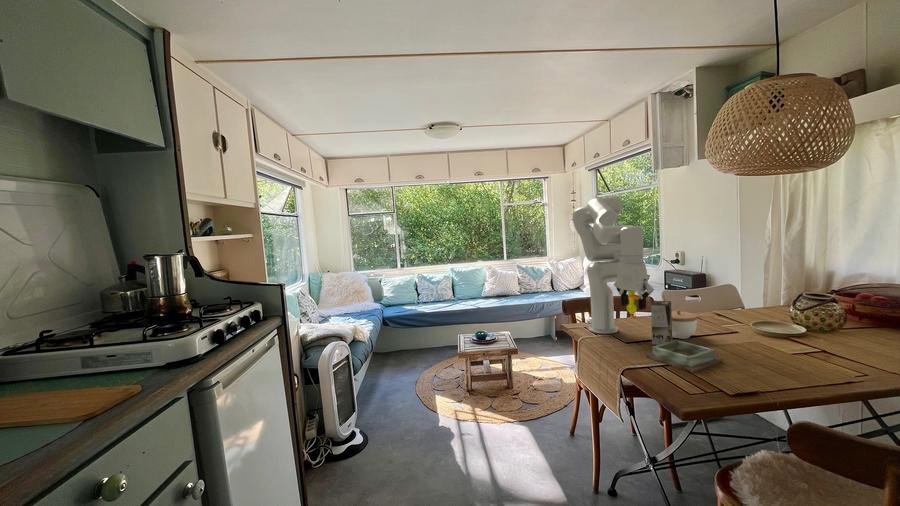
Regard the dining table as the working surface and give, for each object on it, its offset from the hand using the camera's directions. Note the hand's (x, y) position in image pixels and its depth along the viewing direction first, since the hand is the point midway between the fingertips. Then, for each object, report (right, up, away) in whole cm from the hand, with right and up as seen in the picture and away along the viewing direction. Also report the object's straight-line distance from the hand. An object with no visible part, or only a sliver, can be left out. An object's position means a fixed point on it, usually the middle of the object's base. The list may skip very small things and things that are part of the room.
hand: (633, 306), depth 130 cm
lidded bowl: (+27, -15, +15) cm, 35 cm away
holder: (+13, -17, -9) cm, 23 cm away
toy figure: (0, -4, 0) cm, 4 cm away
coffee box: (+17, -16, +10) cm, 25 cm away
